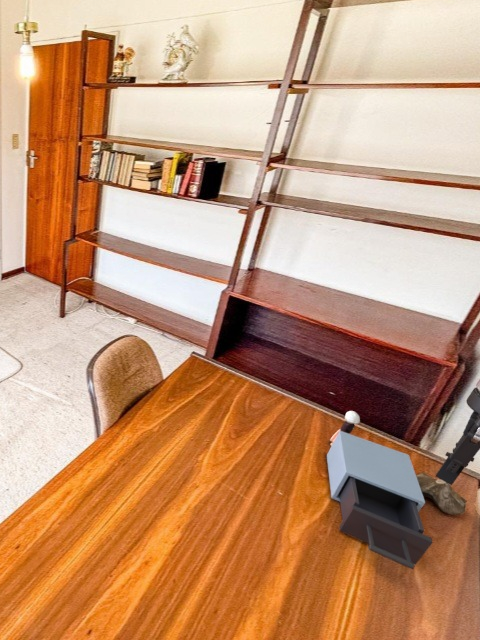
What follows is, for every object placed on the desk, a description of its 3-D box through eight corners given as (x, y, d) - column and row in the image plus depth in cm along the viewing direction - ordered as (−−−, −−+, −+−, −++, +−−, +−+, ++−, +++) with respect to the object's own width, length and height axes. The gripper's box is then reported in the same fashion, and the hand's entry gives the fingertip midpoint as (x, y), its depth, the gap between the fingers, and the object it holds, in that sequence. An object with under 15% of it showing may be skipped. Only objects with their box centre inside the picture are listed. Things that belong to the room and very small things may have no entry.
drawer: (423, 592, 80) (442, 569, 77) (342, 554, 86) (356, 532, 83) (400, 510, 96) (415, 489, 93) (333, 483, 102) (345, 462, 99)
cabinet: (406, 529, 93) (425, 502, 89) (331, 498, 99) (346, 471, 95) (392, 480, 105) (408, 454, 101) (326, 455, 112) (339, 430, 107)
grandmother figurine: (333, 435, 118) (349, 403, 113) (348, 443, 116) (366, 410, 110) (324, 448, 114) (341, 415, 108) (340, 456, 111) (358, 423, 106)
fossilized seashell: (476, 510, 95) (431, 479, 105) (471, 492, 93) (425, 462, 103) (448, 525, 96) (405, 492, 105) (443, 507, 94) (400, 476, 103)
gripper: (526, 423, 72) (461, 507, 82) (534, 395, 79) (473, 476, 89) (468, 399, 77) (414, 481, 87) (480, 375, 84) (429, 454, 94)
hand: (444, 479), depth 88 cm, fingers closed
